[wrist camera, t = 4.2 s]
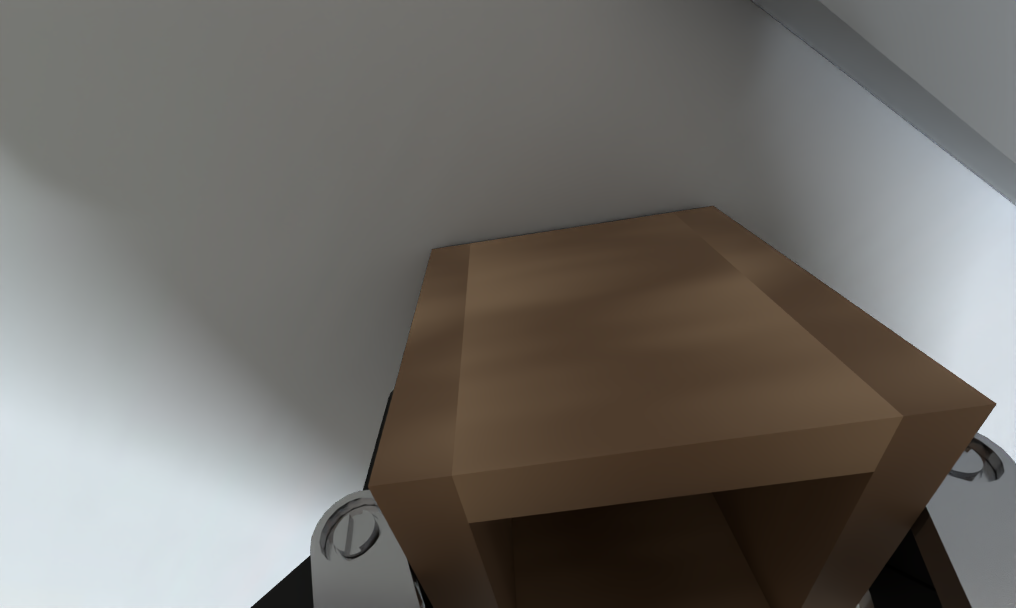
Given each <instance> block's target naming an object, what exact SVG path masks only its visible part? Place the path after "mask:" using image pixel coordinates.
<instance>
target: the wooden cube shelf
mask: <svg viewBox="0 0 1016 608" xmlns="http://www.w3.org/2000/svg"><path fill="white" fill-rule="evenodd" d="M995 406H996V403H995V402H993V401H992V400H990V399H989V398H988V397H986V396H985V395H983V394H982V393H980V392H979V391H977V390H976V389H975V388H973V387H972V386H970V385H969V384H967V383H966V382H965V381H963V380H962V379H960V378H959V377H957V376H956V375H955V374H953V373H952V372H950V371H949V370H947V369H946V368H945V367H943V366H942V365H940V364H939V363H937V362H936V361H935V360H933V359H932V358H930V357H929V356H927V355H926V354H925V353H923V352H922V351H920V350H919V349H917V348H916V347H914V346H913V345H912V344H910V343H909V342H907V341H906V340H904V339H903V338H902V337H900V336H899V335H897V334H896V333H894V332H893V331H892V330H890V329H889V328H887V327H886V326H884V325H883V324H882V323H880V322H879V321H877V320H876V319H874V318H873V317H872V316H870V315H869V314H867V313H866V312H864V311H863V310H862V309H860V308H859V307H857V306H856V305H854V304H853V303H852V302H850V301H849V300H847V299H846V298H844V297H843V296H841V295H840V294H839V293H837V292H836V291H834V290H833V289H831V288H830V287H829V286H827V285H826V284H824V283H823V282H821V281H820V280H819V279H817V278H816V277H814V276H813V275H811V274H810V273H809V272H807V271H806V270H804V269H803V268H801V267H800V266H799V265H797V264H796V263H794V262H793V261H791V260H790V259H789V258H787V257H786V256H784V255H783V254H781V253H780V252H779V251H777V250H776V249H774V248H773V247H771V246H770V245H768V244H767V243H766V242H764V241H763V240H761V239H760V238H758V237H757V236H756V235H754V234H753V233H751V232H750V231H748V230H747V229H746V228H744V227H743V226H741V225H740V224H738V223H737V222H736V221H734V220H733V219H731V218H730V217H728V216H727V215H726V214H724V213H723V212H721V211H720V210H718V209H717V208H716V207H714V206H709V207H703V208H696V209H690V210H683V211H677V212H670V213H664V214H657V215H651V216H644V217H638V218H631V219H625V220H618V221H612V222H605V223H599V224H592V225H586V226H580V227H573V228H567V229H560V230H554V231H547V232H541V233H534V234H528V235H521V236H515V237H508V238H502V239H495V240H489V241H482V242H476V243H469V244H463V245H456V246H450V247H443V248H437V249H432V251H431V254H430V258H429V262H428V265H427V269H426V273H425V277H424V280H423V284H422V288H421V291H420V295H419V299H418V302H417V306H416V310H415V314H414V317H413V321H412V325H411V328H410V332H409V336H408V340H407V343H406V347H405V351H404V354H403V358H402V362H401V366H400V369H399V373H398V377H397V380H396V384H395V388H394V391H393V395H392V399H391V403H390V406H389V410H388V414H387V417H386V421H385V425H384V429H383V432H382V436H381V440H380V443H379V447H378V451H377V454H376V458H375V462H374V466H373V469H372V473H371V477H370V480H369V484H368V488H369V490H370V492H371V494H372V495H373V497H374V499H375V501H376V503H377V505H378V506H379V508H380V510H381V512H382V514H383V516H384V517H385V519H386V521H387V523H388V525H389V527H390V528H391V530H392V532H393V534H394V536H395V538H396V540H397V541H398V543H399V545H400V547H401V549H402V551H403V552H404V554H405V556H406V558H407V560H408V562H409V563H410V565H411V567H412V569H413V571H414V573H415V574H416V576H417V578H418V580H419V582H420V584H421V585H422V587H423V589H424V591H425V593H426V595H427V596H428V598H429V600H430V602H431V604H432V606H433V608H856V607H857V605H858V604H859V602H860V601H861V599H862V598H863V596H864V595H865V593H866V592H867V591H868V589H869V588H870V586H871V585H872V583H873V582H874V580H875V579H876V578H877V576H878V575H879V573H880V572H881V570H882V569H883V567H884V566H885V565H886V563H887V562H888V560H889V559H890V557H891V556H892V554H893V553H894V552H895V550H896V549H897V547H898V546H899V544H900V543H901V541H902V540H903V539H904V537H905V536H906V534H907V533H908V531H909V530H910V528H911V527H912V526H913V524H914V523H915V521H916V520H917V518H918V517H919V515H920V514H921V513H922V511H923V510H924V508H925V507H926V505H927V504H928V502H929V501H930V499H931V498H932V497H933V495H934V494H935V492H936V491H937V489H938V488H939V486H940V485H941V484H942V482H943V481H944V479H945V478H946V476H947V475H948V473H949V472H950V471H951V469H952V468H953V466H954V465H955V463H956V462H957V460H958V459H959V458H960V456H961V455H962V453H963V452H964V450H965V449H966V447H967V446H968V445H969V443H970V442H971V440H972V439H973V437H974V436H975V434H976V433H977V432H978V430H979V429H980V427H981V426H982V424H983V423H984V421H985V420H986V419H987V417H988V416H989V414H990V413H991V411H992V410H993V408H994V407H995Z"/></svg>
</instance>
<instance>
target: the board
mask: <svg viewBox="0 0 1016 608" xmlns="http://www.w3.org/2000/svg"><path fill="white" fill-rule="evenodd" d="M752 1H753V2H754V3H755V4H757V5H758V6H759V7H761V8H762V9H763V10H764V11H766V12H767V13H768V14H770V15H771V16H772V17H773V18H775V19H776V20H777V21H779V22H780V23H781V24H782V25H784V26H785V27H786V28H788V29H789V30H790V31H791V32H793V33H794V34H795V35H797V36H798V37H799V38H800V39H802V40H803V41H804V42H806V43H807V44H808V45H810V46H811V47H812V48H813V49H815V50H816V51H817V52H819V53H820V54H821V55H822V56H824V57H825V58H826V59H828V60H829V61H830V62H831V63H833V64H834V65H835V66H837V67H838V68H839V69H840V70H842V71H843V72H844V73H846V74H847V75H848V76H849V77H851V78H852V79H853V80H855V81H856V82H857V83H858V84H860V85H861V86H862V87H864V88H865V89H866V90H867V91H869V92H870V93H871V94H873V95H874V96H875V97H876V98H878V99H879V100H880V101H882V102H883V103H884V104H885V105H887V106H888V107H889V108H891V109H892V110H893V111H894V112H896V113H897V114H898V115H900V116H901V117H902V118H903V119H905V120H906V121H907V122H909V123H910V124H911V125H912V126H914V127H915V128H916V129H918V130H919V131H920V132H921V133H923V134H924V135H925V136H927V137H928V138H929V139H931V140H932V141H933V142H934V143H936V144H937V145H938V146H940V147H941V148H942V149H943V150H945V151H946V152H947V153H949V154H950V155H951V156H952V157H954V158H955V159H956V160H958V161H959V162H960V163H961V164H963V165H964V166H965V167H967V168H968V169H969V170H970V171H972V172H973V173H974V174H976V175H977V176H978V177H979V178H981V179H982V180H983V181H985V182H986V183H987V184H988V185H990V186H991V187H992V188H994V189H995V190H996V191H997V192H999V193H1000V194H1001V195H1003V196H1004V197H1005V198H1006V199H1008V200H1009V201H1010V202H1012V203H1013V204H1014V205H1015V206H1016V0H752Z"/></svg>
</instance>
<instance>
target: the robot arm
mask: <svg viewBox="0 0 1016 608" xmlns="http://www.w3.org/2000/svg"><path fill="white" fill-rule="evenodd" d="M393 391H394V390H393ZM393 391H392V392H391V393H390V396H389V398H388V402H387V406H386V409H385V413H384V416H383V420H382V423H381V427H380V431H379V434H378V438H377V441H376V445H375V449H374V452H373V456H372V459H371V463H370V467H369V470H368V474H367V477H366V481H365V484H364V488H363V491H358V492H355V493H352V494H349V495H347V496H345V497H344V498H342V499H340V500H339V501H337V502H336V503H335V504H334V505H332V506H331V507H330V508H329V509H328V510H327V511H326V512H325V513H324V515H323V516H322V518H321V519H320V520H319V522H318V523H317V525H316V527H315V530H314V532H313V535H312V537H311V546H310V556H309V557H308V558H307V559H306V560H304V561H303V562H302V563H301V564H300V565H299V566H298V567H296V568H295V569H294V570H293V571H292V572H291V573H290V574H288V575H287V576H286V577H285V578H284V579H283V580H282V581H280V582H279V583H278V584H277V585H276V586H275V587H274V588H273V589H271V590H270V591H269V592H268V593H267V594H266V595H265V596H263V597H262V598H261V599H260V600H259V601H258V602H257V603H255V604H254V605H253V606H252V607H251V608H433V606H432V604H431V602H430V600H429V598H428V596H427V595H426V593H425V591H424V589H423V587H422V585H421V584H420V582H419V580H418V578H417V576H416V574H415V573H414V571H413V569H412V567H411V565H410V563H409V562H408V560H407V558H406V556H405V554H404V552H403V551H402V549H401V547H400V545H399V543H398V541H397V540H396V538H395V536H394V534H393V532H392V530H391V528H390V527H389V525H388V523H387V521H386V519H385V517H384V516H383V514H382V512H381V510H380V508H379V506H378V505H377V503H376V501H375V499H374V497H373V495H372V494H371V492H370V490H369V488H368V484H369V480H370V477H371V473H372V469H373V466H374V462H375V458H376V454H377V451H378V447H379V443H380V440H381V436H382V432H383V429H384V425H385V421H386V417H387V414H388V410H389V406H390V403H391V399H392V395H393ZM856 608H1016V463H1015V462H1014V461H1013V460H1012V458H1011V457H1010V456H1009V455H1008V454H1007V453H1006V452H1005V451H1004V450H1003V449H1002V448H1001V447H999V446H998V445H997V444H995V443H994V442H992V441H991V440H990V439H988V438H987V437H985V436H983V435H981V434H979V433H976V434H975V436H974V437H973V439H972V440H971V442H970V443H969V445H968V446H967V447H966V449H965V450H964V452H963V453H962V455H961V456H960V458H959V459H958V460H957V462H956V463H955V465H954V466H953V468H952V469H951V471H950V472H949V473H948V475H947V476H946V478H945V479H944V481H943V482H942V484H941V485H940V486H939V488H938V489H937V491H936V492H935V494H934V495H933V497H932V498H931V499H930V501H929V502H928V504H927V505H926V507H925V508H924V510H923V511H922V513H921V514H920V515H919V517H918V518H917V520H916V521H915V523H914V524H913V526H912V527H911V528H910V530H909V531H908V533H907V534H906V536H905V537H904V539H903V540H902V541H901V543H900V544H899V546H898V547H897V549H896V550H895V552H894V553H893V554H892V556H891V557H890V559H889V560H888V562H887V563H886V565H885V566H884V567H883V569H882V570H881V572H880V573H879V575H878V576H877V578H876V579H875V580H874V582H873V583H872V585H871V586H870V588H869V589H868V591H867V592H866V593H865V595H864V596H863V598H862V599H861V601H860V602H859V604H858V605H857V607H856Z"/></svg>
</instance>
